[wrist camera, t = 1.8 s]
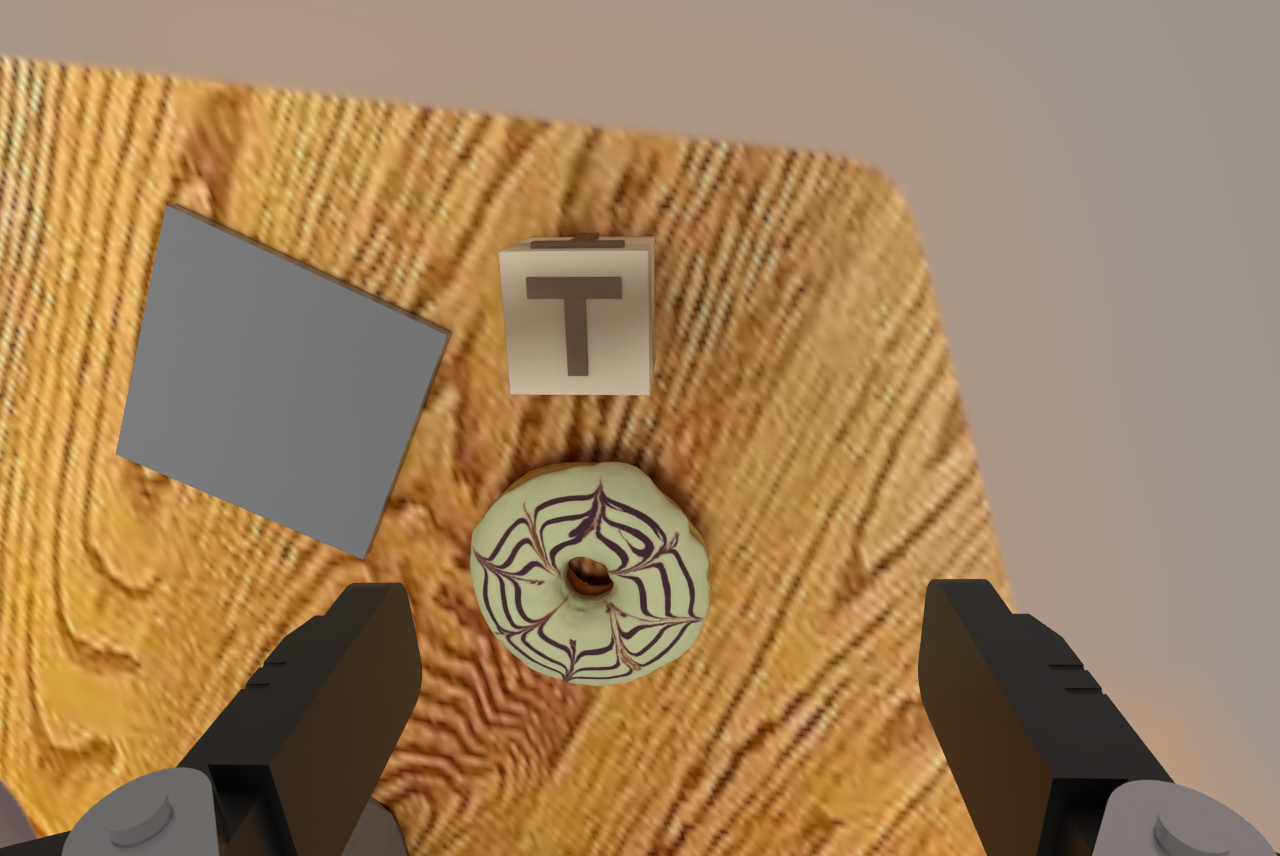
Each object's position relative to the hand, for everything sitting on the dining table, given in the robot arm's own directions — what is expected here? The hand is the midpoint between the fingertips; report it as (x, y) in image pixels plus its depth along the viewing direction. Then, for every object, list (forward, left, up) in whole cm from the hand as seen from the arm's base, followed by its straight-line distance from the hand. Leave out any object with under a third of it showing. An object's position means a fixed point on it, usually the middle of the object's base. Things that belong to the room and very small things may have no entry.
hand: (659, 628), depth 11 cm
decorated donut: (-9, -7, -20) cm, 23 cm away
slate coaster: (-16, +8, -20) cm, 26 cm away
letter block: (-2, +3, -20) cm, 20 cm away
